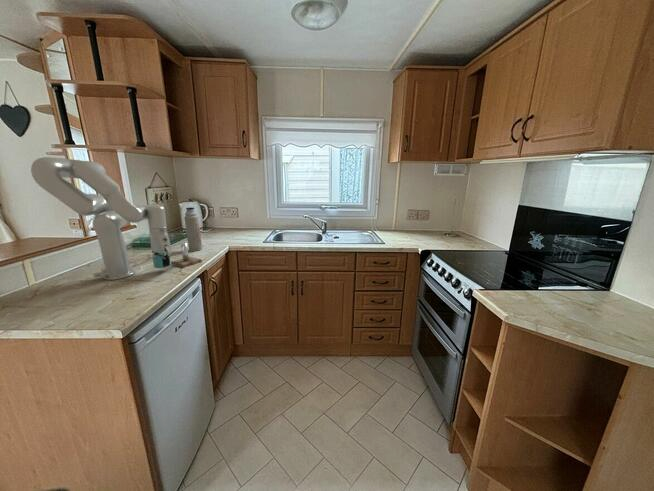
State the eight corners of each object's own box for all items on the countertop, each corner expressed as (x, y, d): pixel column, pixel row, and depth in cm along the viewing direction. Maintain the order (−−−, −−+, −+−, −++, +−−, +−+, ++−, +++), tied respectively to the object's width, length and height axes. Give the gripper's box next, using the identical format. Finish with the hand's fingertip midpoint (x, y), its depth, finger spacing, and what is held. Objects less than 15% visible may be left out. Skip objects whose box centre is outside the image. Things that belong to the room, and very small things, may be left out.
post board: (183, 267, 143) (183, 264, 143) (171, 264, 148) (171, 261, 148) (201, 261, 153) (201, 259, 152) (189, 259, 158) (189, 256, 157)
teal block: (159, 269, 133) (158, 257, 131) (151, 266, 136) (150, 255, 135) (172, 265, 139) (171, 254, 137) (165, 263, 142) (163, 252, 140)
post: (185, 261, 148) (182, 244, 145) (182, 260, 149) (179, 243, 147) (190, 260, 151) (188, 243, 148) (187, 259, 152) (184, 242, 149)
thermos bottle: (204, 248, 180) (199, 207, 172) (197, 251, 172) (191, 208, 165) (194, 247, 181) (188, 206, 174) (186, 251, 174) (180, 208, 166)
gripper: (176, 231, 132) (179, 265, 136) (156, 227, 140) (159, 259, 144) (160, 234, 126) (165, 269, 130) (140, 229, 134) (145, 263, 138)
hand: (162, 264), depth 137 cm, fingers closed on teal block, 6 cm apart
